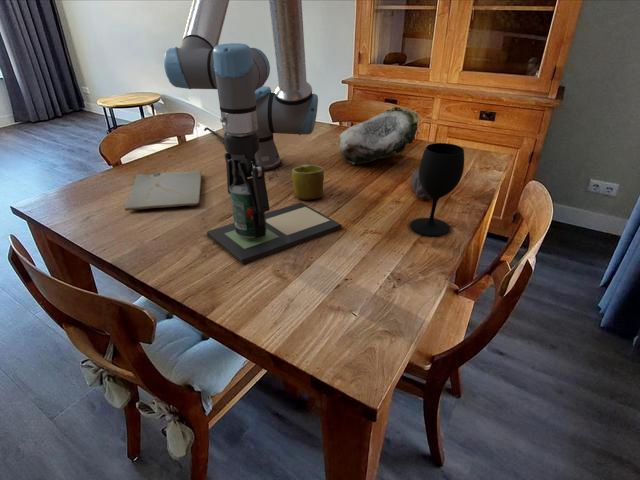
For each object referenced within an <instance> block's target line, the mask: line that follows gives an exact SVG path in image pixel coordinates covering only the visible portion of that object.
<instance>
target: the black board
mask: <svg viewBox="0 0 640 480" xmlns="http://www.w3.org/2000/svg"><path fill="white" fill-rule="evenodd" d="M265 216H266V228H267V231H266V235H265V236H262V237H259V238H257V239H256V238H244V237H240V236H238V235H237V234H236V233H235V225H234V222H233V223H232V222H231V223H230V224H226V225H223V226H220V227H217V228H213V229H210V230H207V231H206V235H207V237H209V238H210V239H211V240H212V241H214V242H215V243H216V244H217V245H219V246H220V248H222V249H223V250H225V251H226V252H227V253H228V254H229V255H231V256H232V257H233V258H234V259H235V260H237V261H238V262H239V263H240V264H242V265H244V264H247V263H250V262H252V261H255V260H259V259H262V258H263V257H267V256H269V255H272V254H275V253H277V252H280V251H283V250H286V249H289V248H291V247H294V246H296V245H300V244H302V243H305V242H308V241H311V240H313V239H315V238H319V237H321V236H324V235H328V234H330V233H332V232H336V231H338V230H341V229H342V224H341V223H340V222H337V221H336V220H335V219H332V218H331V217H329V216H327V215H325V214H323V213H322V212H320V211H318V210H316V209H314V208H312V207H311V206H309V205H307V204H305V203H303V202H301V201H300V202H298V203H297V202H296V203H294V204H291V205H288V206H285V207H281V208H278V209H274V210H272V211H267V212H265Z"/></svg>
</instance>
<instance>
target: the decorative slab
mask: <svg viewBox="0 0 640 480" xmlns="http://www.w3.org/2000/svg"><path fill="white" fill-rule="evenodd" d="M201 185H202V171H201V170H192V171H166V172H162V173H161V172H155V173H152V174H146V173H139V174H137V173H136V176H135V178H134V181H133V183H132V186H131V189H130V192H129V195H128V198H127V201H126V203H125V207H124V209H125V211H127V212H128V211H132V210H147V209H157V208H158V209H159V208H173V207H183V206H190V207H191V206H192V207H193V206H196V205H198V204H200V199H201V197H200V196H201Z"/></svg>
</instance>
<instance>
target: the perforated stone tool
mask: <svg viewBox="0 0 640 480" xmlns="http://www.w3.org/2000/svg"><path fill="white" fill-rule="evenodd" d="M410 186H411V189H412V190H413V192H414V194H415V195H416V197H418V198H419V199H420V200H423V201H432V198H431V196H429V195H428V194H427V193H426V192H425V190H424V189H423V188H422V186H421V183H420V180H419V168H418V169H415V170H414V171H413V173H412V174H411V178H410Z"/></svg>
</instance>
